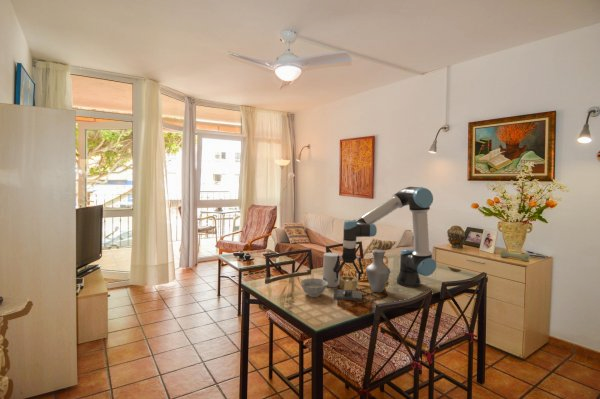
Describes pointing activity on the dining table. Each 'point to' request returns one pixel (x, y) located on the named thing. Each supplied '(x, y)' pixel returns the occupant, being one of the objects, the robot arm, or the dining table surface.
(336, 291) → the piston block
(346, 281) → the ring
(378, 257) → the vase
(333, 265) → the container
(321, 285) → the bowl
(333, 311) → the dining table surface
